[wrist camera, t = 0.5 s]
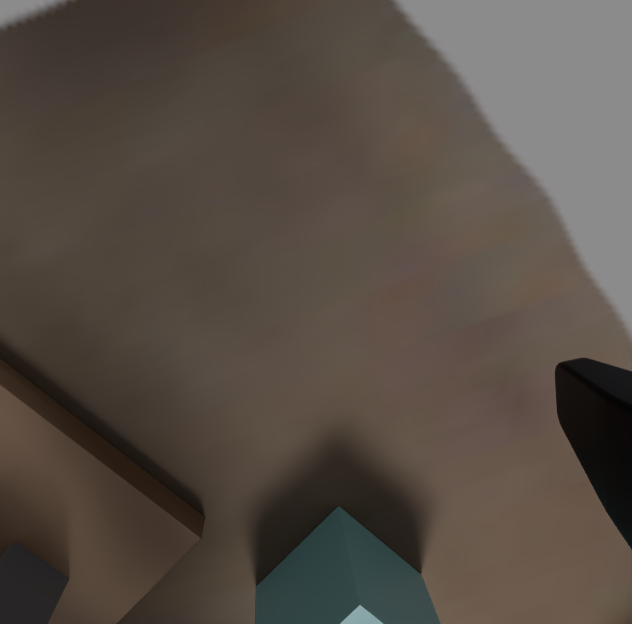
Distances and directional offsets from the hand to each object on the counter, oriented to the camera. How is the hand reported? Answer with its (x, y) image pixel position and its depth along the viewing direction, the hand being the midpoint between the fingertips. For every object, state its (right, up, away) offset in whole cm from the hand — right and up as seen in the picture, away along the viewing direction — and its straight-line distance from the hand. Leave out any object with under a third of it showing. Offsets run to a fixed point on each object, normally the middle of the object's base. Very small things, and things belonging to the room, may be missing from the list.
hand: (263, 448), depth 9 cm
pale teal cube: (+2, -10, +17) cm, 20 cm away
